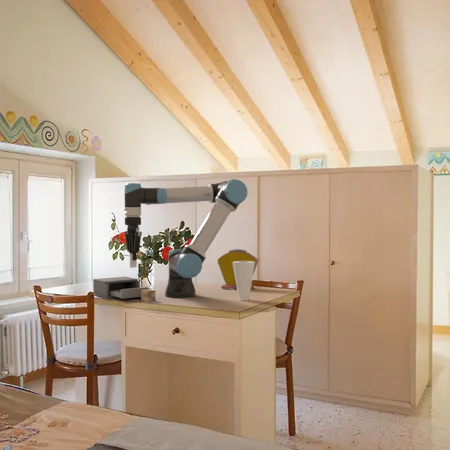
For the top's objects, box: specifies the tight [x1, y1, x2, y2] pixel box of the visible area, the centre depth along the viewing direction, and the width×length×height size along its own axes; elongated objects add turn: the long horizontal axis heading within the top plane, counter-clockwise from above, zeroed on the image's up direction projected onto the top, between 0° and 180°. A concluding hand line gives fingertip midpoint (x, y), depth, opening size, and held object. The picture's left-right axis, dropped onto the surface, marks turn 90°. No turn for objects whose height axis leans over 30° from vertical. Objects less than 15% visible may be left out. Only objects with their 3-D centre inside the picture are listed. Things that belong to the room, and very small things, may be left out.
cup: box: [233, 261, 255, 301], centre depth 260 cm, size 11×11×18 cm
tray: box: [109, 286, 150, 300], centre depth 268 cm, size 14×15×4 cm
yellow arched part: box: [217, 248, 258, 290], centre depth 301 cm, size 22×9×22 cm, turn 76°
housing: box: [92, 276, 141, 299], centre depth 279 cm, size 18×16×8 cm
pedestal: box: [140, 288, 157, 303], centre depth 259 cm, size 5×5×5 cm
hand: (133, 267), depth 255 cm, fingers closed
